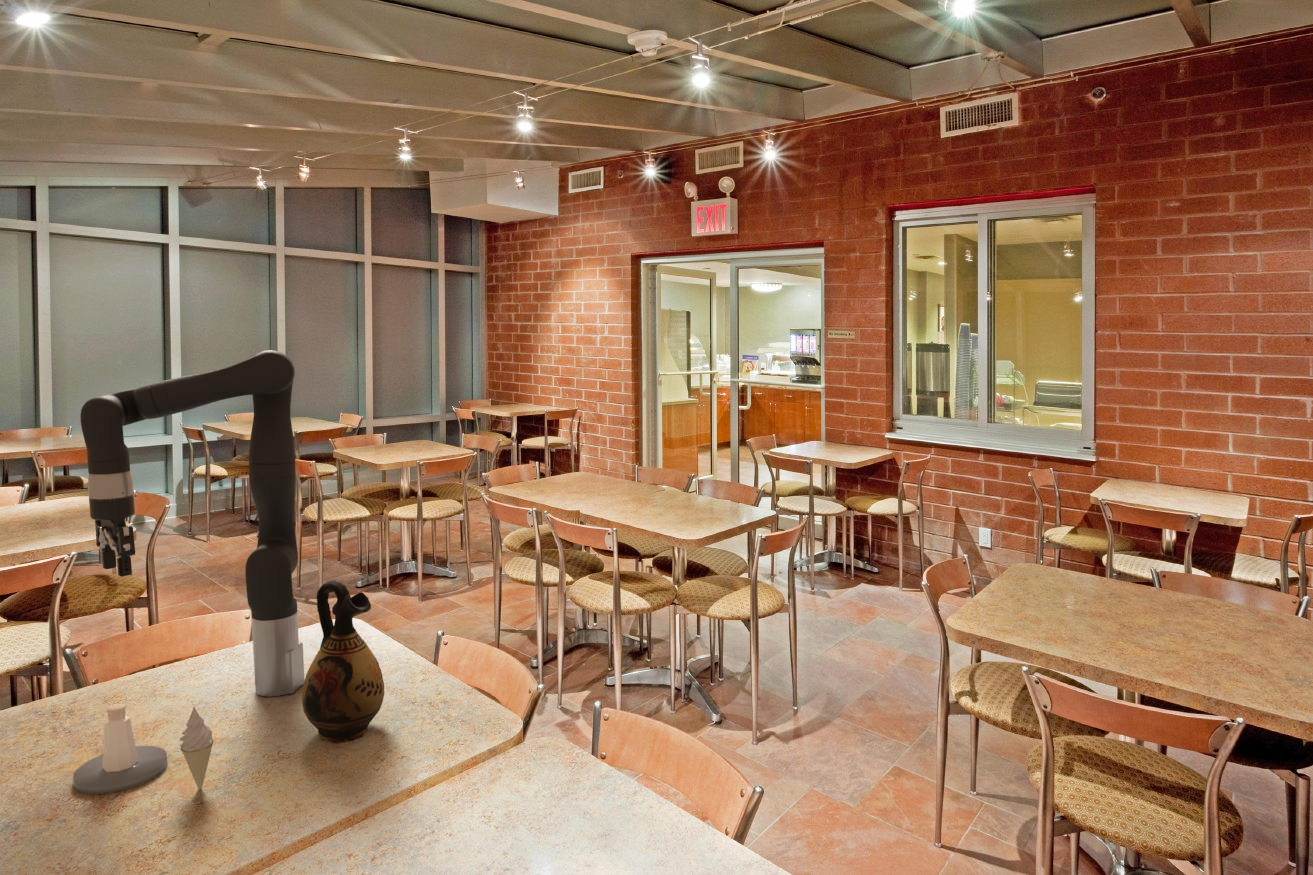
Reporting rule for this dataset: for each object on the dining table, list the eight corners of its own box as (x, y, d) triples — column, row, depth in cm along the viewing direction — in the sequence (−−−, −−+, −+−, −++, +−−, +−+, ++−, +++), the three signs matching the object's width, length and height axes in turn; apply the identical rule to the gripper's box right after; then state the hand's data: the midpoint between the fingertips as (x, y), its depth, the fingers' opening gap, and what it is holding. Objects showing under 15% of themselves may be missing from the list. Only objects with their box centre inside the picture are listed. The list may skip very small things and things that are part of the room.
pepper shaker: (145, 759, 146) (141, 701, 145) (117, 774, 141) (112, 715, 140) (123, 754, 148) (119, 697, 146) (94, 769, 142) (90, 710, 141)
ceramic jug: (402, 721, 164) (398, 579, 161) (344, 756, 150) (337, 601, 147) (341, 705, 171) (335, 569, 168) (279, 737, 157) (272, 589, 154)
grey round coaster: (183, 753, 151) (183, 745, 151) (135, 794, 137) (134, 786, 137) (109, 752, 151) (109, 745, 151) (53, 793, 137) (53, 785, 137)
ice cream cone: (191, 781, 141) (186, 700, 140) (221, 780, 142) (216, 699, 140) (177, 797, 136) (171, 713, 135) (208, 796, 137) (203, 712, 135)
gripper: (145, 495, 161) (151, 574, 163) (119, 487, 170) (125, 562, 172) (102, 501, 156) (108, 582, 158) (77, 492, 164) (83, 569, 166)
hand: (117, 571), depth 165 cm, fingers open, 8 cm apart
